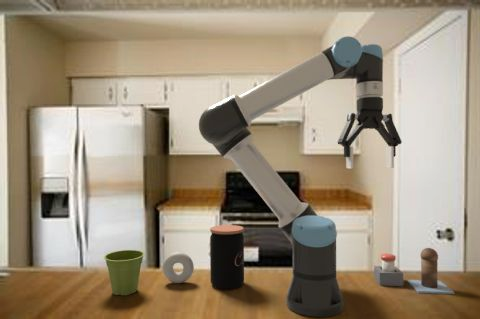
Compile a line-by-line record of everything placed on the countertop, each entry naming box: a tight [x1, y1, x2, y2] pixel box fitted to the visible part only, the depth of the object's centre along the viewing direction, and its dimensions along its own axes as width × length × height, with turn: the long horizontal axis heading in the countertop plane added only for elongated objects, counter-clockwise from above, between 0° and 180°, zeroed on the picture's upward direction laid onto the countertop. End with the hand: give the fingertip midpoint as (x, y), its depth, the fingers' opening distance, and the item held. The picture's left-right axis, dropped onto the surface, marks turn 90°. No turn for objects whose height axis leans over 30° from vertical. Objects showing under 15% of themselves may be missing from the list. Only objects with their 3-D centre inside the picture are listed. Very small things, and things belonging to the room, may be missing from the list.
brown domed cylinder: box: [420, 247, 439, 288], centre depth 112 cm, size 5×5×11 cm
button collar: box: [373, 265, 404, 287], centre depth 118 cm, size 7×7×4 cm
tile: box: [406, 279, 455, 295], centre depth 112 cm, size 10×10×1 cm
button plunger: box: [380, 253, 397, 272], centre depth 118 cm, size 4×4×7 cm
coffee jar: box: [209, 224, 245, 291], centre depth 116 cm, size 11×11×18 cm
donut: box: [162, 251, 195, 284], centre depth 118 cm, size 10×4×10 cm, turn 93°
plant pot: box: [103, 249, 146, 296], centre depth 111 cm, size 12×12×11 cm
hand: (370, 168), depth 111 cm, fingers open, 13 cm apart
